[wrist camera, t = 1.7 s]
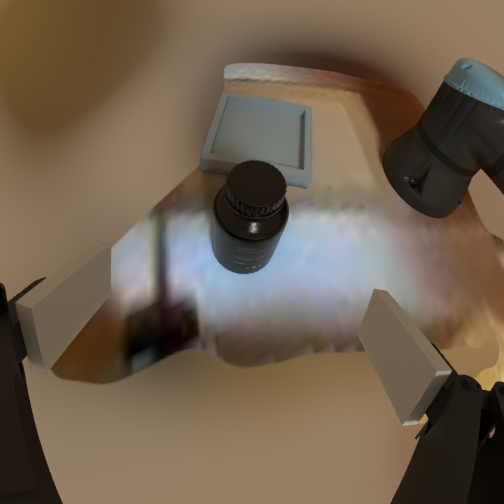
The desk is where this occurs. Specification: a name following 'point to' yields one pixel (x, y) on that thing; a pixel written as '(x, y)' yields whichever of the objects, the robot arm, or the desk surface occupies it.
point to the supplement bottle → (249, 216)
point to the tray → (260, 136)
